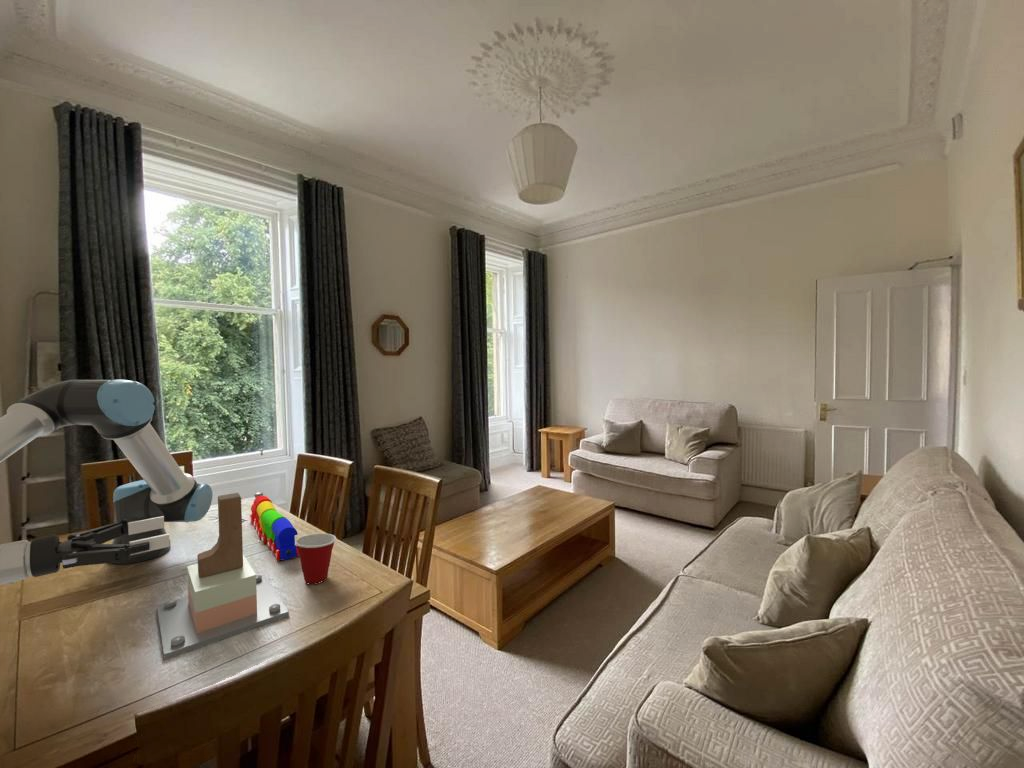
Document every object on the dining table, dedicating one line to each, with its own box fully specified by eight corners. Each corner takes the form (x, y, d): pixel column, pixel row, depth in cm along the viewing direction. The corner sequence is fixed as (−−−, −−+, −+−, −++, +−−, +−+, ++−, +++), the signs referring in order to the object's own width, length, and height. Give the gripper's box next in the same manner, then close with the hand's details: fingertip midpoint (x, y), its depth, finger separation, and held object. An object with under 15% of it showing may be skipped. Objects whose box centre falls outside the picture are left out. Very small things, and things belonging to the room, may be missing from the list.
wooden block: (199, 578, 105) (196, 504, 103) (197, 571, 108) (195, 499, 107) (243, 567, 110) (241, 496, 109) (240, 561, 114) (238, 492, 112)
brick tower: (157, 609, 110) (155, 567, 110) (264, 578, 126) (263, 541, 126) (164, 659, 92) (162, 609, 92) (288, 616, 108) (287, 573, 108)
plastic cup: (345, 575, 129) (344, 534, 128) (314, 592, 119) (313, 549, 118) (318, 567, 133) (317, 528, 133) (286, 583, 123) (285, 541, 123)
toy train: (245, 522, 169) (244, 493, 168) (267, 518, 174) (266, 489, 173) (277, 564, 135) (276, 528, 134) (303, 557, 140) (302, 522, 139)
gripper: (39, 555, 97) (162, 529, 111) (22, 603, 79) (172, 566, 93) (37, 521, 97) (161, 500, 111) (19, 562, 78) (170, 531, 92)
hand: (166, 530), depth 102 cm, fingers open, 13 cm apart
